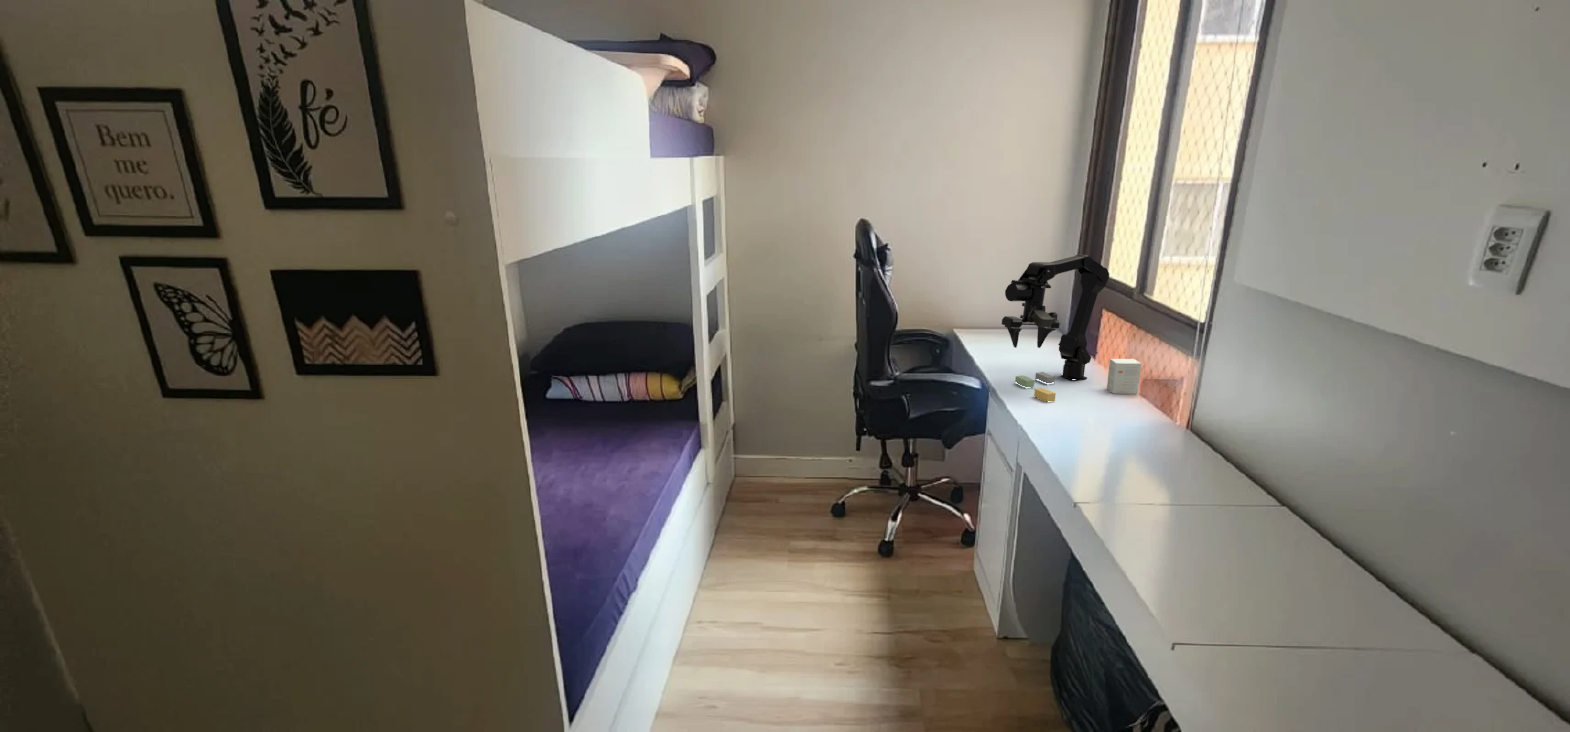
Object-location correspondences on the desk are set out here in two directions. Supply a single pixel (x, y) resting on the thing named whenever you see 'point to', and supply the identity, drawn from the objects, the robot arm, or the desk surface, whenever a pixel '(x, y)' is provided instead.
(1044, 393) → the ochre brick
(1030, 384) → the sage brick
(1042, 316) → the robot arm
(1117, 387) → the small box
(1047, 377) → the slate brick
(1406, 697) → the desk surface
